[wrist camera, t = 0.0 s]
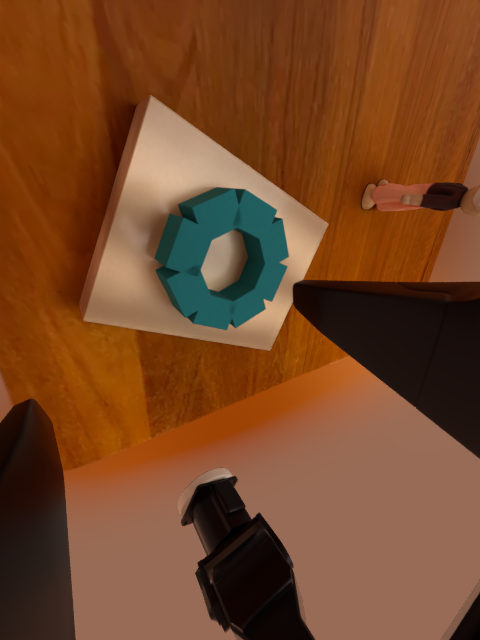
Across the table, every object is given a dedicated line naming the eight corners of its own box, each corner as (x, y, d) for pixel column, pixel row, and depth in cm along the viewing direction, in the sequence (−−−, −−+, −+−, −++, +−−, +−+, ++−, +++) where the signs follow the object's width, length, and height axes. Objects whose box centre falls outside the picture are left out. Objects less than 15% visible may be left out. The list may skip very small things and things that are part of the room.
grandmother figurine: (355, 222, 33) (481, 241, 24) (354, 189, 31) (492, 196, 21) (396, 197, 36) (525, 206, 26) (398, 165, 33) (540, 161, 24)
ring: (242, 325, 26) (256, 336, 24) (139, 302, 20) (148, 315, 18) (285, 223, 24) (305, 227, 22) (186, 162, 18) (202, 161, 16)
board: (254, 338, 32) (270, 350, 30) (78, 304, 20) (82, 321, 18) (306, 219, 29) (329, 223, 27) (136, 104, 18) (150, 93, 15)
